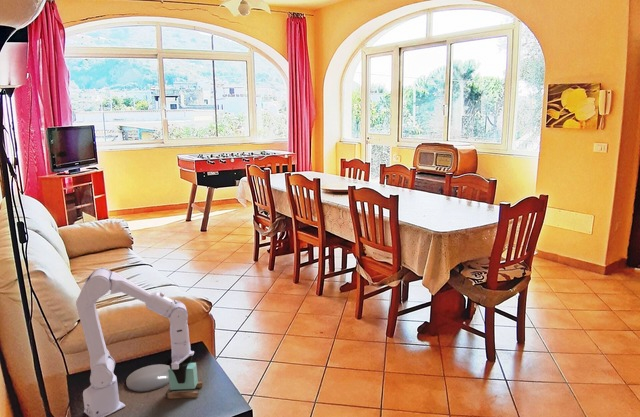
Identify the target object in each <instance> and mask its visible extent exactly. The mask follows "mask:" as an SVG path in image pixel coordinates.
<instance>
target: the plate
mask: <svg viewBox="0 0 640 417" xmlns="http://www.w3.org/2000/svg"><path fill="white" fill-rule="evenodd" d="M169 368H170V364H169V365H167V364H162V363H161V364H160V363H159V364H151V365H147V366H142V367H140V368H138V369H136V370H134V371H133V372H131V373H130V374H129V375H128V376H127V378H126V379H125V380H126V381H125V382H126V383H125V384H126V388H127V389H129V390H131V391H133V392H141V393H142V392H151V391H154V390H155V391H156V390H158V389H161V388H163V387H166V386H167V385H170V384H169V373H168V369H169Z"/></svg>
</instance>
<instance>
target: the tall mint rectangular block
mask: <svg viewBox="0 0 640 417" xmlns="http://www.w3.org/2000/svg"><path fill="white" fill-rule="evenodd" d="M197 367H198V365H197V362H191V363H188V365H187V369H186V379H185V383H178V382H177V379H176V377H175V374H174V372H173V371H172V370H171V369H170V368H169V369H168V373H169V384H168V385H169V387H170V390H177V391H178V390H195V389H196V388H195V387H196V385H197V383H198V382H199V381H198V380H199V378H198V368H197Z"/></svg>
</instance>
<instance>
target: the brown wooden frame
mask: <svg viewBox="0 0 640 417" xmlns="http://www.w3.org/2000/svg"><path fill="white" fill-rule="evenodd" d="M203 387H204V382H203V381H198V383H197V385H196V387H195V389H198V388H199V389H200V388H203ZM199 394H200V393H199V390H198V391H197V390H196V391H195V390H194V391H173V390H170V386H169V387H168V388H167V391H166V393H165V394H164V395H165V399H168V400H169V399H183V398H184V399H188V398H199V396H200V395H199Z"/></svg>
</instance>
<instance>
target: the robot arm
mask: <svg viewBox="0 0 640 417" xmlns="http://www.w3.org/2000/svg"><path fill="white" fill-rule="evenodd" d="M109 291H110V292H109ZM107 293H109V294H110V295H114V294H117V293H123V294H125V295H127V296H130V297H132V298H134V299H136V300H138V301H141V302H143V303H145V307H146V309H148V310H150V311H152V312H153V313H156V314H157V315H160V316H162V317H163V318H167V320H168V321H169V324H170V326H169V335H170V347H171V348H170V349H171V362H170V363H169V366H170V369H171V370H172V371H173V372H174V374H175V377H176V379H177V382H178V383H185V379H186V369H187V365H188V363H192V360H193V356H194V354H195V351H194V350H191V349H192V348H191V342H190V331H189V330H190V329H189V325H188V318H189V314H188V310H187V307H186V304H185V303H184V302H183V301H181V300H177V299H172V298H169V296H166V295H165V293H164V292H163V291H160V292H159V291H153V292H150V291H147V290H146V289H145V288H143V287H141V286H139V285H137V284H136V283H134V282H133V281H131V280H130V279H128V278H125V277H124V276H122V275H120V274H119V273H118V272H116V271H111V270H110V269H108V268H105V267H99V268H96V269H95V270H93V271H92V272H91V273H90V274H89V275H88V276H87V278H86V280H85V282H84V284H83V285H82V288H81V290H80V293H79V294H78V297H77V300H76V302H75V306H76V310H77V314H78V317H79V320H80V324H81V328H82V331H83V332H82V333H83V337H84V340H85V344H86V348H87V350H88V354H89V367H90V376H89V383H90V385H89V386H88V387H87V388H85V389H83V392H82V398H83V399H82V400H83V406H84V410H83V414H86V415H87V416H88V417H107V416H109V415H111V414H113V413H115V412H117V411H119V410H121V409H123V408H125V407H126V404H125V403H124V402H122V401H120V395H119V394H120V393H119V387H118V386H119V385H118V378H117V375H115V373H114V371H115V367H116V361H115V359H114V358H113V356H111V354H110V351H109V350H108V348H107V346H106V342H105V341H106V340H105V338H104V333H103V329H102V324H101V321H100V316H99V313H98V310H97V309H98V308H97V306H96V303H97V302H98V300H99V299H101V298H102V297H103V296H106V295H107Z"/></svg>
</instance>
